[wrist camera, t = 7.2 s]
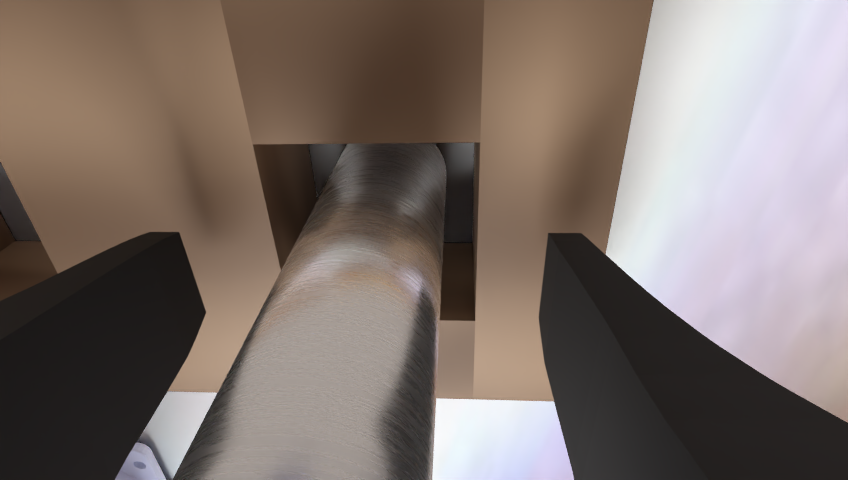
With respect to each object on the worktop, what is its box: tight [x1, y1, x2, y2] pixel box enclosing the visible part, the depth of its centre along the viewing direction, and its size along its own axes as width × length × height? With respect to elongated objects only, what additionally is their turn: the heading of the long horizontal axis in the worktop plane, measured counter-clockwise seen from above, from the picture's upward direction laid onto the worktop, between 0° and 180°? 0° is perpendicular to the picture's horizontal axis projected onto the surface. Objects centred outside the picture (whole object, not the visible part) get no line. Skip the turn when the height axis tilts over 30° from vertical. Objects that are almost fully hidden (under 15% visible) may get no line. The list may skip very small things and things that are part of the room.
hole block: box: [0, 0, 654, 401], centre depth 13 cm, size 10×20×4 cm, turn 92°
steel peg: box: [173, 143, 447, 480], centre depth 10 cm, size 3×3×10 cm
